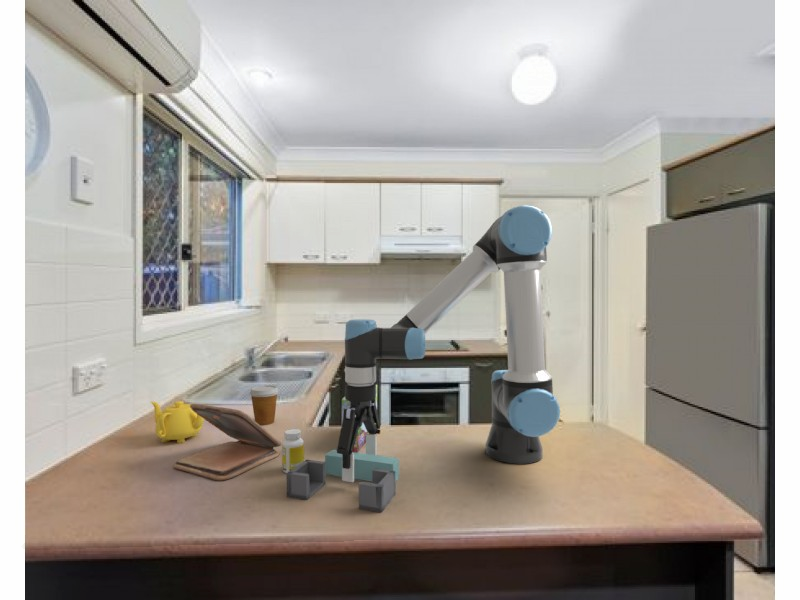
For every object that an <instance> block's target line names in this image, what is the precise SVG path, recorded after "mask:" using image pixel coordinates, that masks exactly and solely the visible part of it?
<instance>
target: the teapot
mask: <svg viewBox="0 0 800 600" xmlns="http://www.w3.org/2000/svg"><path fill="white" fill-rule="evenodd" d="M150 403H151V404H152V406H153V407H154V417H153V418H154V422H155V423H156V424H155V429H154V430H155V434H156V435H157V437H158V438H160V439H161V441H160V443H168V442H170V441H173V440H174V441H175V440H176V444H178V445H180V444H184V443H186V439H187V438H197V437H198V434H199V432H200V431H201V430H202V429H203V426H204V425H203V424H204V421H205V419H204V418H202V417H201V416H199V415H198V414H197V413H195V412H194V411H193V410H192V409H191V408H190V405H191V404H192V403H184V401H183V400H182V401H181V400H177V401H175V402H174V403H173V405H169V406H166V407H165V408H164V409H163V410H162V409H161V407H160V404H159V403H158V402H156V401H154V400H153V401H150Z"/></svg>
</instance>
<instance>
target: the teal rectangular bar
mask: <svg viewBox="0 0 800 600" xmlns="http://www.w3.org/2000/svg"><path fill="white" fill-rule="evenodd" d="M352 453H354V480H361V481H368V482H372V470H373V469H374V468H375V469H383V470H390V471H395V483H396V482H397V481H398V479H400V458H399V457H392V456H385V455H379V454H377V455H371V454H366V453H364V452H352ZM324 462H325V475H330V476H333V477H341V478H342V454H339V453H337V449H332V450H330V451H329V452H327V453H326V454H325V455H324Z"/></svg>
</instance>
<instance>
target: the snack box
mask: <svg viewBox="0 0 800 600" xmlns="http://www.w3.org/2000/svg"><path fill="white" fill-rule="evenodd" d="M375 385H376V408H377V409H378V384H375ZM350 405H351V403H350V401H348V400H346V399H345V396H344V397H343V398H342V399H341V423H342V422H343V413H344V409H350ZM375 424H376V423H375ZM366 434H369V433H368V432H367V430H366V428H365V425H364V423H362V426H361V427H359V430H358V434H357V437H356V441H355V444H354V448H353V451H352V452H356V453H359V451H360V450H361V449H362V447H363V446H364V445H366Z"/></svg>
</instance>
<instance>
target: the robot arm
mask: <svg viewBox="0 0 800 600" xmlns="http://www.w3.org/2000/svg"><path fill="white" fill-rule="evenodd" d="M552 233H553V227H552V222H551V221H550V218H549V216H548V215H547V214H546V213H544V212H543V210H541V209H540V208H538V207H535V206H533V205H528V204H527V205H518V206H516V207H511V208H510V209H507V211H505V212H504V213H503V214H502V215H501V216H500V217H498V218H497V219H496V220H495V221H494V222H493V223H492V224H491V225H490V227H489V228H488V229H487V230H486V231H485V233H484V234H483V235H482V236H481V238H479V240H478V241H477V242H476V243H475V244H473V245H472V251H471V252H470V253H469V254H468V255H467V256H466V258H464V259H463V260H462V261H461V262H460V263H459V264H458V265H457V266H456V267H455V268H453V269H452V270H451V271H450V272H449V273H448V274H447V275H446V276H445V277H444V278H443V279H442V280H441V281H440V282H438V284H436V286H434V287H433V288H432V289H431V290H430V291H429V292H428V293H427V294H426V295H425V296H424V297H422V299H421V300H419V302H417V304H415V305H414V307H412V308H411V309H410V310H409V311H408V312H407V313H406V314H405V315H404V316H403V317H401V319H400V320H399V321H398V322H397V323H394V324H393V325H392V326H391V327H378V326H377V321H375V320H374V319H366V318H360V319H349V320H348V321H347V322H346V323H345V333H344V367H345V368H344V369H343V372H344V374H345V375H344V377H345V378H344V380H345V383H346V384H345V386H344V397H345V399H346V400H348V401H350V403H351V405H350V409H344V413H343V422H342V421H341V429H340V433H339V438H338V444H337V449H336V450H337V453H339V454H342V477H341V481H343V482H349V483H354V482H355V479H354V453H352V451H353V448H354V444H355V441H356V437H357V434H358V430H359V427H361V426H362V423H364V425H365V428H366V430H367V432H368V433H369V434H366V443H365V454H371V455H378V454H377V452H378V451H377V450H378V449H377V448H378V447H377V446H378V445H377V443H378V441H377V440H378V438H377V437H378V436H377V435H380V434H381V423H380V419H379V414H378V407H377V408H376V385H377V384H376V381H377V360H378V359H379V360H382V359H384V360H386V359H389V360H410V361H412V360H420V359H423V358H425V355H426V334H427V333H428V332H429V331H430V330H431V329H432V328H433V327H434V326H436V325H437V324H438V323H439V322H440V321H441V320H442V319H443V318H444V317H445V316H446V315H447V314H448V313H450V312H451V311H452V310H453V309H454V308H456V306H457V305H458V304H459V303H460V302H461V301H462V300H463V299H464V298H466V297H467V296H468V295H469V294H470V293H471V292H472V291H473V290H474V289H476V288H477V286H478V285H479V284H481V283H482V282H483V281H484V280H485V279H487V277H488V276H489V275H490V274H491V273H494V272H495V273H496V272H499V271H500V270H501V271H502V272H503V286H504V303H505V305H504V306H505V308H504V309H505V325H506V327H505V328H506V329H505V330H506V343H507V344H506V346H507V347H506V348H507V349H506V350H507V367H508V368H507V369H499V370H497V369H496V370H494V371H493V372H492V374H491V380H490V383H491V427H490V429H489V433H488V435H487V438H486V442H485V453H486V455H487V456H488V457H489V458H490V459H494V460H496V461H498V462H503V463H508V464H515V465H516V464H519V465H522V464H525V465H526V464H532V463H535V462H536V463H537V462H538V461H540V460H542V459H543V453H544V452H543V445H542V442H541V440H540V437H541V436H545V435H546V434H549V433H550V432H551V431H552V430H553V429H554V428H556V426H557V424H558V422H559V419H560V416H561V409H560V404H559V402H558V399H557V398H556V397H555V395H554V393H553V391H554V389H553V386H554V385H553V375H552V374H550V373H549V371H547V370H546V363H545V341H544V319H543V318H544V316H543V299H542V298H543V297H542V294H543V292H542V273H541V270H542V269H543V267H544V266H545V265H546V264H547V263H548V260H547V259H548V258H547V257H548V256H547V247H548V246H549V243H550V241H551V238H552ZM375 423H376V424H375Z"/></svg>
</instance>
